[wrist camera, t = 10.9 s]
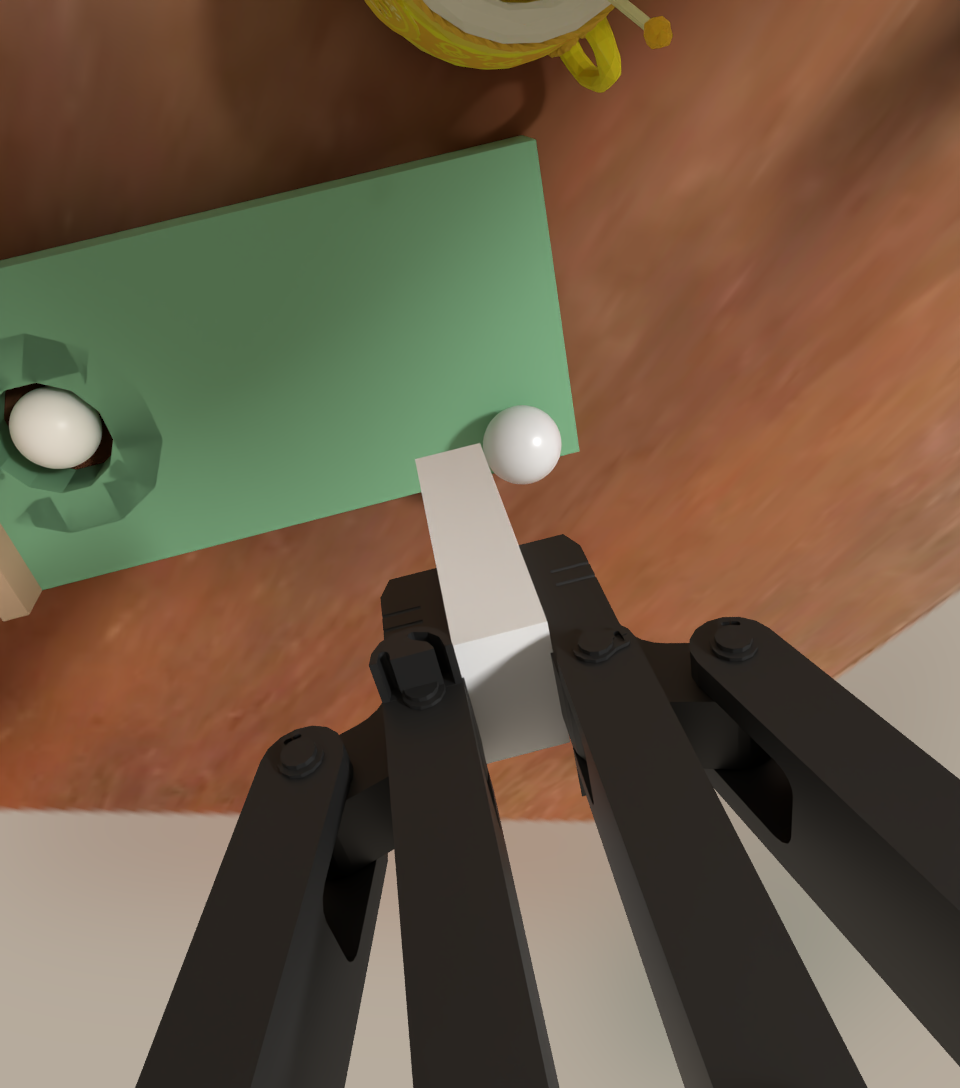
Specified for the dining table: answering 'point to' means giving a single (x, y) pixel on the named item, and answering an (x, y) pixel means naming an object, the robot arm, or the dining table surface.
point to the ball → (55, 428)
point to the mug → (520, 32)
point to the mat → (277, 359)
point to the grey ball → (522, 444)
